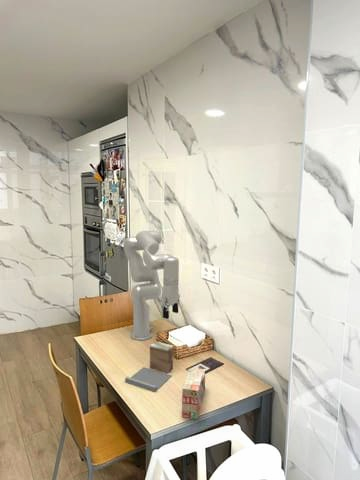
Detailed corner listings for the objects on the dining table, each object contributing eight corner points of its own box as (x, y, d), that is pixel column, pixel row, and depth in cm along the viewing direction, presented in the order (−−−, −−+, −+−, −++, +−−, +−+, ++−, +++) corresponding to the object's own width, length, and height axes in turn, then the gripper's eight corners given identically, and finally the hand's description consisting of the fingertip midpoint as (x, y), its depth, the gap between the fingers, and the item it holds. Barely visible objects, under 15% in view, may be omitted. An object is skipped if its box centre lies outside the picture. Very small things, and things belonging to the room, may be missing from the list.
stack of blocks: (191, 387, 153) (191, 361, 151) (205, 389, 152) (205, 362, 150) (181, 417, 132) (182, 387, 130) (197, 420, 131) (198, 390, 129)
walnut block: (155, 364, 173) (155, 341, 171) (172, 369, 168) (173, 345, 167) (149, 368, 168) (150, 345, 167) (167, 373, 164) (167, 349, 162)
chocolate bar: (223, 363, 173) (199, 375, 161) (223, 365, 173) (199, 377, 161) (210, 357, 180) (185, 368, 168) (210, 358, 180) (185, 370, 168)
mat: (143, 367, 169) (143, 363, 169) (172, 376, 162) (172, 372, 161) (125, 382, 156) (125, 378, 155) (155, 392, 148) (155, 387, 148)
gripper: (172, 277, 180) (172, 309, 182) (155, 284, 165) (155, 319, 167) (185, 279, 176) (185, 311, 179) (168, 287, 161) (168, 322, 163)
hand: (170, 315), depth 173 cm, fingers open, 9 cm apart
